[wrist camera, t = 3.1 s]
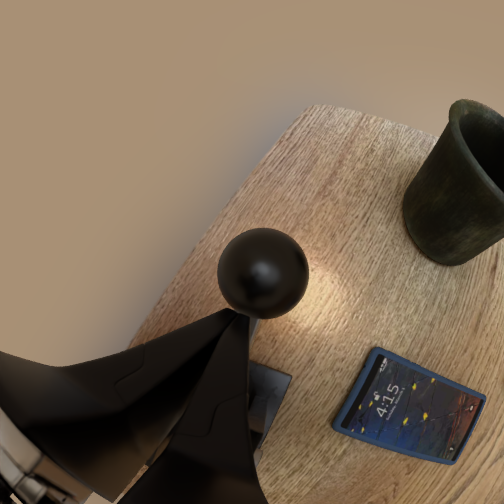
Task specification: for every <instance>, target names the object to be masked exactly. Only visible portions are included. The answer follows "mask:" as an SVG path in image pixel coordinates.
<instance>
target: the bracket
mask: <svg viewBox="0 0 504 504" xmlns="http://www.w3.org/2000/svg"><path fill="white" fill-rule="evenodd" d="M291 379H292V375H290V374H287V373H284V372H282V371H279V370H276V369H273V368H270V367H268V366H265V365H262V364H260V363H257V362H255V361H252V360H250V359H249V388H248V416H249V427H250V436H251V442H252V449H253V455H254V461H255V467H257V466H258V464H259V461H260V459H261V457H262V454H263V450H261V449H260V447H261V445H262V443H263V441H264V439H265V437H266V435H267V433H268V431H269V429H270V427H271V425H272V423H273V420H274V418H275V416H276V414H277V412H278V409H279V407H280V405H281V403H282V400H283V398H284V396H285V393H286V391H287V389H288V386H289V384H290V382H291ZM182 415H183V414H182ZM181 417H182V416H181ZM181 417H180V418H179V420H178V421H177V422H176V424H175V425H174V426H173V428H172V429H171V430H170V432H169V433H168V434H167V436H166V437H165V438H164V440H163V441H162V442H161V443H160V445H159V446H158V447H157V449H156V450H155V451H154V453H153V454H152V455H151V456H150V458H149V459H148V460H147V461H146V463H145V465H147V466H148V467H150V466H151V465H152V464H153V462H154V461H155V460H156V459H157V458H158V457H159V455H160V454H161V453H162V452H163V451H164V449H165V448H166V446H167V445H168V443H169V441H170V439H171V437H172V435H173V434H174V431H175V429H176V427H177V425H178V423H179V421H180V419H181Z"/></svg>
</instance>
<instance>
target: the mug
mask: <svg viewBox="0 0 504 504" xmlns="http://www.w3.org/2000/svg"><path fill="white" fill-rule="evenodd" d="M403 211H404V217H405V221H406V225H407V228H408V230H409V233H410V235H411V236H412V238H413V240H414V241H415V243H416V244H417V246H418V247H419V248H420V249H421V250H422V251H423V252H424V253H425V254H426V255H427V256H429V257H430V258H432V259H433V260H435V261H437V262H439V263H442V264H445V265H450V266H456V265H461V264H463V263H466V262H467V261H469V260H470V259H472V258H474V257H475V256H477V255H478V254H480V253H481V252H483V251H484V250H486V249H488V248H489V247H491V246H492V245H493V244H495V243H496V242H498V241H499V240H501V239H502V238H504V117H502V116H501V115H500V114H499V113H497V112H496V111H494V110H493V109H491V108H489V107H488V106H486V105H484V104H482V103H479V102H476V101H473V100H467V99H462V100H458V101H456V102H455V103H454V104H452V105H451V107H450V110H449V122H448V124H447V126H446V128H445V129H444V131H443V133H442V135H441V136H440V138H439V140H438V141H437V143H436V145H435V146H434V148H433V149H432V151H431V153H430V154H429V156H428V158H427V159H426V161H425V162H424V164H423V165H422V167H421V169H420V170H419V172H418V173H417V175H416V176H415V178H414V179H413V181H412V182H411V184H410V185H409V187H408V188H407V190H406V193H405V195H404V201H403Z"/></svg>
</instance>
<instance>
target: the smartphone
mask: <svg viewBox="0 0 504 504" xmlns="http://www.w3.org/2000/svg"><path fill="white" fill-rule="evenodd" d="M485 402H486V396H485V395H483V394H481V393H479V392H476V391H474V390H472V389H470V388H467V387H465V386H463V385H460V384H458V383H456V382H454V381H451V380H449V379H447V378H445V377H443V376H440V375H438V374H436V373H434V372H432V371H429V370H427V369H425V368H423V367H421V366H420V365H418V364H416V363H413V362H410V361H409V360H407V359H405V358H403V357H401V356H399V355H396V354H394V353H392V352H390V351H387V350H385V349H383V348H380V347H375V348H373V349H372V351H371V353H370V355H369V357H368V359H367V361H366V363H365V365H364V368H363V369H362V371H361V373H360V375H359V377H358V379H357V381H356V383H355V385H354V387H353V389H352V390H351V392H350V394H349V396H348V398H347V399H346V401H345V403H344V405H343V406H342V408H341V410H340V412H339V413H338V415H337V417H336V418H335V420H334V422H333V424H332V428H333V429H334V430H335V431H337V432H339V433H342V434H345V435H347V436H350V437H353V438H355V439H358V440H361V441H364V442H366V443H369V444H372V445H375V446H378V447H381V448H385V449H388V450H391V451H394V452H398V453H401V454H405V455H408V456H412V457H416V458H420V459H424V460H428V461H432V462H437V463H442V464H447V465H453V464H455V463H456V462H457V460H458V458H459V456H460V455H461V453H462V451H463V449H464V447H465V445H466V444H467V442H468V440H469V438H470V436H471V434H472V432H473V430H474V427H475V425H476V423H477V421H478V419H479V416H480V414H481V412H482V409H483V407H484V405H485Z"/></svg>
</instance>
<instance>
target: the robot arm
mask: <svg viewBox="0 0 504 504" xmlns="http://www.w3.org/2000/svg"><path fill="white" fill-rule="evenodd" d="M249 346H250V317H249V316H247V315H244V314H242V313H237V311H234V310H232V309H229V308H225V309H222V310H220V311H218V312H216V313H213V314H211V315H209V316H207V317H204V318H202V319H200V320H198V321H195V322H193V323H191V324H188V325H186V326H184V327H182V328H179V329H177V330H175V331H172V332H170V333H167V334H165V335H163V336H160V337H158V338H156V339H153V340H151V341H148V342H146V343H145V345H144V344H141V345H138V346H136V347H133V348H131V349H128V350H125V351H122V352H120V353H117V354H113V355H110V356H106V357H103V358H99V359H95V360H91V361H87V362H83V363H79V364H75V365H70V366H63V367H54V366H48V365H44V364H40V363H37V362H33V361H30V360H26V359H23V358H20V357H16V356H13V355H10V354H7V353H4V352H1V351H0V504H16V503H15V502H14V501H13V500H12V499H11V498H10V495H11V494H12V493H13V494H14V495H15V496H16V497H17V498H18V499H19V500H20V501H21V502H22V503H23V504H84V503H85V501H86V500H87V499H88V497H89V496H90V495H91V494H92V493H93V491H94V492H95V493H97V494H98V495H100V496H102V497H103V498H105V499H107V500H108V501H110V502H111V503H113V502H114V501H115V500H116V499H117V497H118V496H119V495H120V494H121V493H122V492H123V490H124V489H125V488H126V487H127V485H128V484H129V483H130V482H131V480H132V479H133V478H134V477H135V475H136V474H137V473H138V472H139V470H140V469H141V468H142V467H143V465H144V464H145V463H146V461H147V460H148V459H149V458H150V456H151V455H152V454H153V453H154V451H155V450H156V449H157V447H158V446H159V445H160V443H161V442H162V441H163V440H164V438H165V437H166V436H167V434H168V433H169V432H170V430H171V429H172V428H173V426H174V425H175V424H176V422H177V421H178V420H179V418H180V417H181V416H182V417H181V419H180V421H179V423H178V425H177V427H176V429H175V431H174V434H173V435H172V437H171V439H170V441H169V443H168V445H167V446H166V448H165V449H164V451H163V452H162V453H161V454H160V455H159V457H158V458H157V459H156V460H155V461H154V462H153V464H152V465H151V466H150V467H149V468H148V469H147V470H146V472H145V473H144V474H143V475H142V476H141V477H140V478H139V480H138V481H137V482H136V483H135V484H134V485H133V486H132V487H131V488H130V490H129V491H128V492H127V493H126V494H125V495H124V496H123V497H122V498H121V499H120V500H119V502H118V503H117V504H269V503H268V502H267V500H266V498H265V496H264V493H263V491H262V489H261V487H260V484H259V480H258V477H257V472H256V467H255V461H254V455H253V449H252V442H251V436H250V427H249V416H248V388H249ZM182 414H183V415H182Z"/></svg>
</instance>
